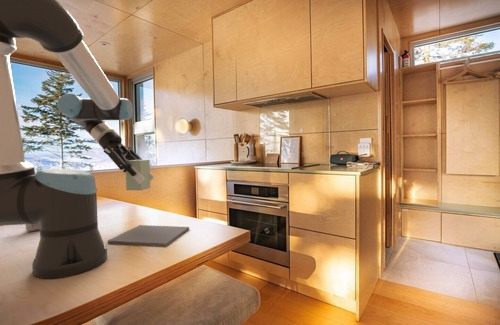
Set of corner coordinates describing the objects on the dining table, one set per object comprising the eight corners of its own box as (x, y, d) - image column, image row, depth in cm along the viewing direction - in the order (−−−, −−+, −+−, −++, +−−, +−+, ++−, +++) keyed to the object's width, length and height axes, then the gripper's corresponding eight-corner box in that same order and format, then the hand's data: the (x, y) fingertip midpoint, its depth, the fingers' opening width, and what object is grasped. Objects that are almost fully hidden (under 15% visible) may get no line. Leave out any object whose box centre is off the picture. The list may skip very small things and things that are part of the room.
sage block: (141, 190, 95) (140, 160, 95) (126, 190, 96) (125, 160, 96) (150, 188, 101) (149, 159, 101) (136, 187, 102) (135, 159, 102)
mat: (166, 246, 75) (166, 243, 75) (107, 243, 78) (107, 240, 78) (189, 229, 91) (189, 227, 91) (139, 227, 94) (139, 225, 94)
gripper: (117, 145, 110) (154, 184, 108) (81, 143, 91) (124, 190, 89) (128, 132, 109) (166, 171, 107) (94, 128, 90) (138, 175, 88)
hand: (147, 180), depth 98 cm, fingers closed on sage block, 6 cm apart
